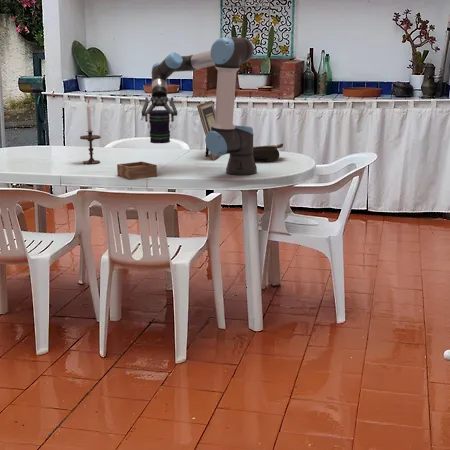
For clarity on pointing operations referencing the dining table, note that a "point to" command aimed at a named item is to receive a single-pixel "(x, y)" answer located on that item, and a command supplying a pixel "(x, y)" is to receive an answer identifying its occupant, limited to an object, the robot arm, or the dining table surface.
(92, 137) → the candlestick
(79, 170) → the dining table surface
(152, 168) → the wooden box
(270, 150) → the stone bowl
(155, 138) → the storage jar
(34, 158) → the dining table surface
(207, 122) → the picture frame
